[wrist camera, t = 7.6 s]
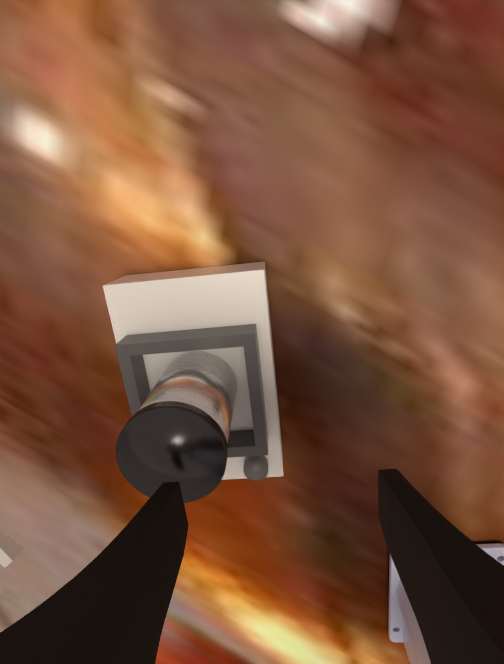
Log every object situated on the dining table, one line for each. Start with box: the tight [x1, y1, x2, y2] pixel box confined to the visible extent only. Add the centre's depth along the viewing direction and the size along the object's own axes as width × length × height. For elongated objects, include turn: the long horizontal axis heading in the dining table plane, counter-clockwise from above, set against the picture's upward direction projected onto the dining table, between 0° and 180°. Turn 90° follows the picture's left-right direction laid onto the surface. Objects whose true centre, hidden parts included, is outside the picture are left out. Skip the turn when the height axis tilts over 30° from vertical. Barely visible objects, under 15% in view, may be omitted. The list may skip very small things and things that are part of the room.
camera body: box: [103, 261, 284, 481], centre depth 20 cm, size 12×8×4 cm, turn 6°
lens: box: [116, 351, 237, 503], centre depth 16 cm, size 4×4×6 cm
